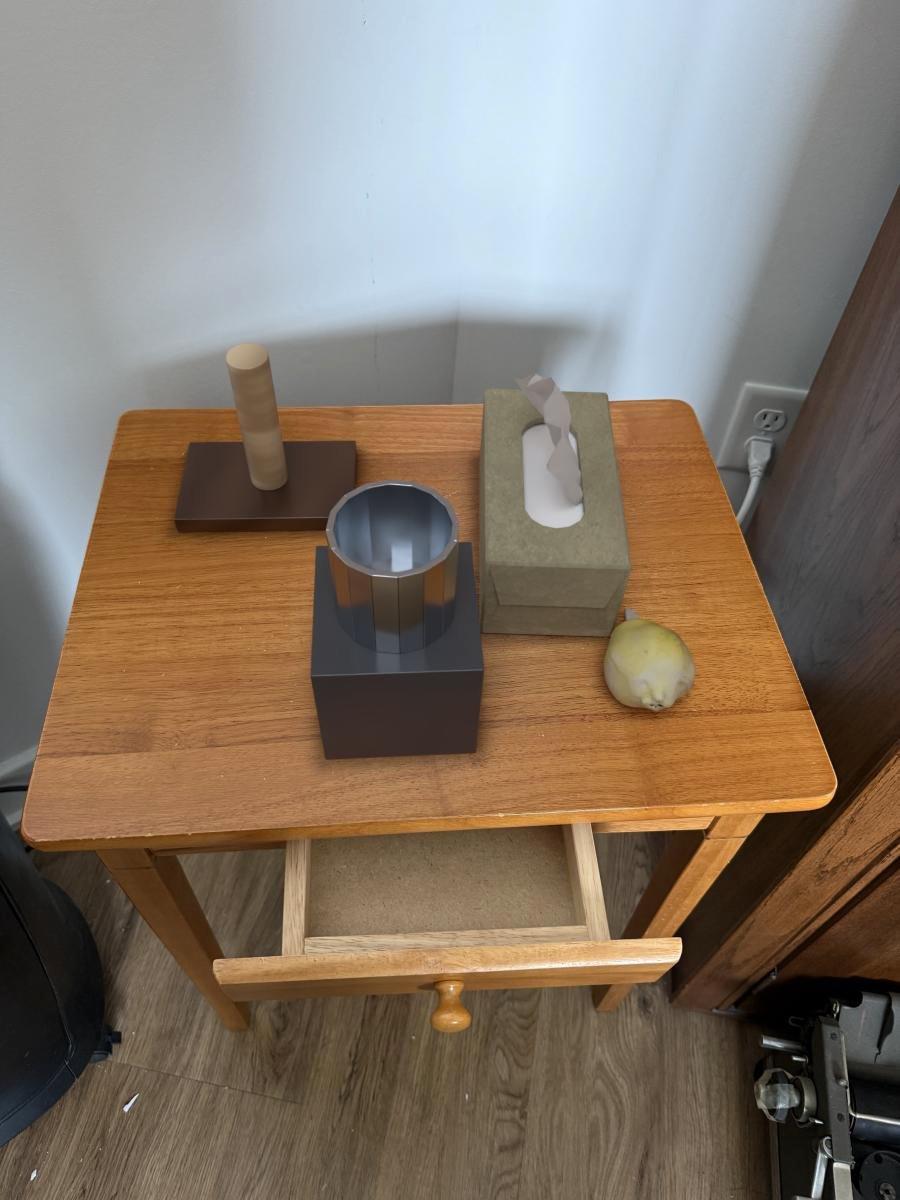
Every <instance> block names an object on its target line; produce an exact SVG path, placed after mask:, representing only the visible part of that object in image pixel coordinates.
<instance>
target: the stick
mask: <svg viewBox="0 0 900 1200" xmlns="http://www.w3.org/2000/svg"><path fill="white" fill-rule="evenodd" d="M225 361H226V366H227V371H228V376H229V382H230V385H231V390H232V396H233V400H234V405H235V409H236V414H237V420H238V425H239V429H240V433H241V438H242V442H243V444H244V449H245V454H246V458H247V463H248V468H249V473H250V478H251V482H252V484H253V485H254V486H255V487H257V488H258V489H261V490H275V489H278V488H280V487H282V486H283V485H284V484H285V483H286V481H287V479H288V472H287V466H286V459H285V453H284V447H283V441H284V440H283V435H282V429H281V428H282V427H281V424H280V417H279V410H278V404H277V399H276V391H275V385H274V379H273V373H272V367H271V361H270V355H269V351H268V350H267V348H265V346H263V345H261V344H258V343H254V342H253V343H252V342H245V343H240V344H237V345H235V346H233V347H231V348H230V349H229V350H228V351H227V353H226V355H225Z"/></svg>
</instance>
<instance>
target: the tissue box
mask: <svg viewBox="0 0 900 1200" xmlns="http://www.w3.org/2000/svg"><path fill="white" fill-rule="evenodd" d="M513 379H514V381H515V383H516V384H517V386H519V389H512V388H511V389H508V388H486V389H484V392H483V404H482V418H481V419H482V420H481V433H480V447H479V459H478V461H479V462H478V464H479V465H478V466H479V470H478V472H479V474H478V475H479V477H478V479H479V481H478V487H479V488H478V491H479V492H478V493H479V495H478V500H479V501H478V503H479V504H478V506H479V507H478V508H479V509H478V511H479V512H478V513H479V514H478V515H479V519H478V521H479V523H478V524H479V525H478V529H479V530H478V531H479V534H478V535H479V537H478V538H479V539H478V540H479V541H478V543H479V544H478V546H479V547H478V549H479V552H478V554H479V555H478V556H479V561H478V562H479V563H478V564H479V565H478V566H479V567H478V568H479V569H478V570H479V579H478V580H479V583H478V584H479V585H478V586H479V587H478V591H479V592H478V594H479V603H478V612H479V622H480V632H481V634H482V633H483V634H508V635H509V634H513V635H514V634H515V635H540V636H541V635H542V636H543V635H545V636H573V637H574V636H575V637H576V636H577V637H604V638H610V637H611V634H612V632H613V630H614V629H615V628H616V624H617V620H618V617H619V616H618V615H619V612H620V610H621V605H622V603H623V599H624V596H625V592H626V589H627V585H628V581H629V578H630V576H631V572H632V568H633V566H632V559H631V552H630V543H629V539H628V538H629V537H628V532H627V531H628V530H627V523H626V515H625V509H624V508H625V507H624V501H623V494H622V488H621V481H620V480H621V479H620V472H619V466H618V465H619V464H618V458H617V451H616V443H615V437H614V436H615V435H614V429H613V423H612V415H611V414H612V413H611V407H610V401H609V394H608V393H607V392H600V391H598V392H597V391H595V392H594V391H567V390H561V389H560V387H559V386H558V384H557V383H556V381H554V379H553V378H552V377H548V378H544V377H542V376H541V375H539V374H538V373H536V372H532V373H530V374H528V375H527V376H524V377H523V378H516V377H513Z"/></svg>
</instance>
